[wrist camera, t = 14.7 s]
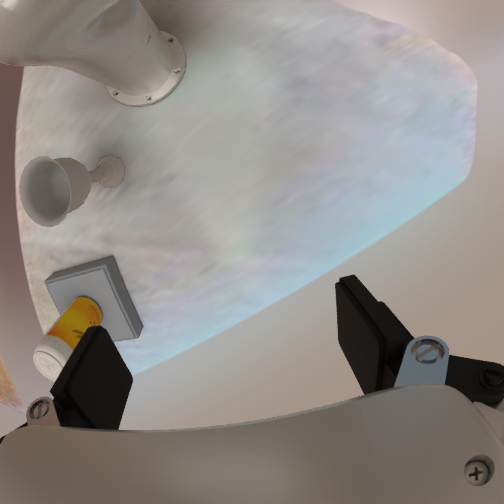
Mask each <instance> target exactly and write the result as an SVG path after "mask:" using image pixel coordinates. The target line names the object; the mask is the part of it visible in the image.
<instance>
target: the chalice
mask: <svg viewBox="0 0 504 504" xmlns="http://www.w3.org/2000/svg"><path fill="white" fill-rule="evenodd" d="M124 174H125V169H124V165H123V163H122V161H121V160H120V159H119V158H118V157H116V156H113V155H108V156H105V157H103V158H102V159H101V160H100V161H99V162H98V164H97V166H96V168H95V169H94V170H93V171H88V170H87V168H86V167H85V166H84V165H83V164H81V163H80V162H78V161H76V160H74V159H71V158H58V159H52V158H49V157H47V156H42V157H37V158H35V159H33V160H31V161H30V162H29V163H28V164H27V165H26V167H25V168H24V170H23V173H22V175H21V179H20V186H19V188H20V198H21V201H22V204H23V207H24V209H25V211H26V212H27V214H28V216H29V217H30V218H31V219H32V220H33V221H34V222H36V223H37V224H39V225H41V226H46V227H52V226H55V225H58V224H59V223H60V222H61V221H63V220H64V219H65V217H66V215H67V214H68V213H70V212H72V211H74V210H76V209H78V208H79V207H80V206H81V205H82V204H83V203H84V201H85V199H86V198H87V196H88V194H89V192H90V189H91V184H92V183H93V182H94V181H96V182H99V183H100V184H101V185H102V186H104V187H107V188H113V187H116V186H117V185H119V184H120V183H121V181H122V180H123V177H124Z"/></svg>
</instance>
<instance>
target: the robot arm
mask: <svg viewBox="0 0 504 504" xmlns="http://www.w3.org/2000/svg"><path fill="white" fill-rule="evenodd" d="M171 41H173V42H171ZM170 42H171V43H170ZM0 62H1V63H5V64H10V65H16V66H57V67H62V68H65V69H68V70H71V71H74V72H76V73H79V74H81V75H84V76H86V77H89V78H91V79H94V80H96V81H98V82H101V83H103V84H105V87H106V89H107V91H108V93H109V94H110V95H111V96H112V97H113V98H114V99H115V100H116V101H118V102H120V103H122V104H125V105H128V106H135V107H140V106H147V105H150V104H154V103H156V102H158V101H160V100H162V99H163V98H165V97H166V96H168V95H169V94H170V93H171V92H172V91H173V90H174V89H175V88H176V86H177V85H178V84H179V82H180V80H181V78H182V77H183V74H184V71H185V66H186V57H185V52H184V49H183V47H182V45H181V43H180V42H179V41H178V40H177V38H175V37H174V36H173V35H171V34H170V33H167V32H165V31H161V30H159V29H158V27H157V26H156V24H155V23H154V21H153V20H152V18H151V17H150V15H149V14H148V12H147V10H146V9H145V7H144V6H143V4H142V3H141V2H140V0H0ZM177 72H180V73H179V74H177ZM117 93H118V95H116V94H117ZM149 98H152V100H151V101H149ZM335 289H336V305H337V324H338V340H339V344H340V346H341V349H342V351H343V353H344V355H345V357H346V358H347V360H348V362H349V364H350V366H351V368H352V370H353V372H354V374H355V377H356V378H357V381H358V382H359V384H360V387H361V389H362V391H363V393H364V395H363V396H359V397H355V398H351V399H348V400H345V401H341V402H337V403H333V404H330V405H326V406H322V407H318V408H314V409H309V410H305V411H300V412H296V413H291V414H287V415H282V416H277V417H272V418H266V419H260V420H254V421H248V422H241V423H234V424H227V425H219V426H209V427H199V428H186V429H169V430H118V429H119V425H120V422H121V419H122V415H123V412H124V408H125V405H126V402H127V399H128V395H129V392H130V389H131V386H132V383H133V378H132V375H131V373H130V371H129V369H128V368H127V366H126V364H125V362H124V361H123V359H122V357H121V355H120V354H119V352H118V350H117V348H116V346H115V344H114V342H113V341H112V339H111V337H110V335H109V333H108V331H107V330H106V329H105V328H103V327H102V326H100V325H98V326H91V327H88V328H87V329H86V331H85V333H84V334H83V336H82V337H81V339H80V341H79V342H78V344H77V345H76V347H75V349H74V350H73V352H72V354H71V355H70V357H69V359H68V360H67V362H66V364H65V365H64V367H63V369H62V371H61V372H60V374H59V376H58V378H57V379H56V381H55V383H54V385H53V387H52V388H51V390H50V393H51V394H52V395H53V396H54V399H53V400H52V399H51V398H49V397H40V398H38V399H36V400H35V401H33V402H32V403H31V404H30V406H29V407H28V409H27V412H26V417H27V422H26V423H25V424H23V425H22V426H20V427H18V428H17V429H15V430H14V431H12V432H10V433H9V434H7V435H5V436H3V437H2V438H0V504H504V366H503V365H501V364H498V363H494V362H488V361H482V360H475V359H470V358H464V357H458V356H452V355H449V348H448V346H447V344H446V343H445V342H444V341H443V340H441V339H439V338H437V337H433V336H421V337H417V338H415V339H414V337H413V336H412V335H411V334H410V333H409V331H408V330H407V329H406V328H405V327H404V325H403V324H402V323H401V322H400V321H399V320H398V318H397V317H396V316H395V315H394V314H393V313H392V311H391V310H390V309H389V308H388V307H387V306H386V305H385V303H383V302H381V301H380V302H378V301H377V300H376V299H375V298H374V297H373V295H372V294H371V293H370V292H369V291H368V290H367V288H366V287H365V286H364V285H363V284H362V283H361V282H360V280H358V278H357V277H356V276H355V275H350V276H346V277H342V278H340V279H339V282H338V283H336V284H335Z"/></svg>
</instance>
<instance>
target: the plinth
mask: <svg viewBox="0 0 504 504" xmlns="http://www.w3.org/2000/svg"><path fill="white" fill-rule="evenodd" d="M44 282H45V284H46V287H47V289H48V291H49V293H50V295H51V297H52V299H53V301H54V303H55V305H56V307H57V309H58V311H59V313H60V315H61V314H62V313H63V312H64V311H65V310H66V308H67V307H68V306H69V305H70V304H71V302H72V301H73V300H74V299H75V298H78V297H85V298H89V299H91V300H93V301H94V302H95V303H96V304H97V305H98V307H99V309H100V311H101V315H102V321H101V324H100V326H102V327H103V328H105V329H106V330H107V331H108V333H109V335H110V337H111V339H112V341H113V342H115V341H122V340H129V339H135V338H139V336H140V333H141V331H142V328H143V324H142V322H141V320H140V318H139V316H138V313H137V311H136V309H135V307H134V305H133V302H132V300H131V298H130V295H129V293H128V291H127V288H126V286H125V284H124V281H123V279H122V276H121V274H120V271H119V269H118V266H117V264H116V261H115V258H114V256H111V257H107V258H103V259H100V260H96V261H93V262H89V263H86V264H82V265H79V266H75V267H72V268H68V269H65V270H62V271H58V272H55V273H53V274H52V275H51V276H50V277H48V278H47V279H46V280H45V281H44Z"/></svg>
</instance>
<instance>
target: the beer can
mask: <svg viewBox="0 0 504 504" xmlns="http://www.w3.org/2000/svg"><path fill="white" fill-rule="evenodd" d="M101 321H102V315H101V311H100V309H99V307H98V305H97V304H96V303H95V302H94V301H93V300H91V299H89V298H85V297H78V298H75V299H74V300H73V301H72V302H71V304H70V305H69V306H68V307H67V308H66V310H65V311H64V312H63V313H62V314H61V316H60V317H59V318H58V319H57V321H56V322H55V323H54V324H53V326H52V327H51V328H50V329H49V331H48V332H47V333H46V334H45V336H44V337H43V338H42V340H41V341H40V342H39V344H38V345H37V346H36V348H35V351H34V356H33V360H34V364H35V366H36V367H37V369H38V370H39V371H40V372H41V373H42V374H43V375H44V376H45V377H47V378H48V379H50V380H52V381H56V379H57V378H58V376H59V374H60V372H61V371H62V369H63V367H64V365H65V364H66V362H67V360H68V359H69V357H70V355H71V354H72V352H73V350H74V349H75V347H76V345H77V344H78V342H79V341H80V339H81V337H82V336H83V334H84V333H85V331H86V329H87V328H88V327H91V326H98V325H100V324H101Z"/></svg>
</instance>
